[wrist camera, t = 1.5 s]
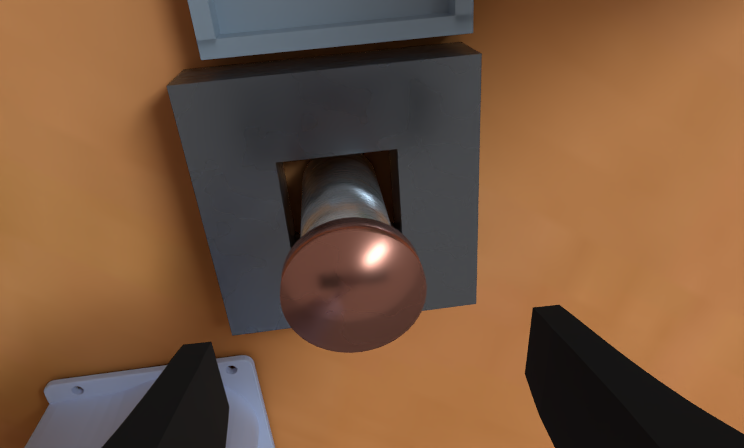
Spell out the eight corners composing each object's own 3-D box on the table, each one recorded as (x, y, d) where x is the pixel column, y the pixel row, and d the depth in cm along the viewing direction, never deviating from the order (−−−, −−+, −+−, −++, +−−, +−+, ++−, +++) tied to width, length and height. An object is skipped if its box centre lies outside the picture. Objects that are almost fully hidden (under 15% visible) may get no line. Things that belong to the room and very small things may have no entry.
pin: (297, 231, 22) (291, 360, 15) (282, 141, 20) (267, 241, 13) (391, 220, 22) (428, 342, 15) (385, 129, 20) (424, 222, 13)
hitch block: (239, 298, 23) (232, 335, 21) (183, 69, 18) (166, 85, 16) (460, 270, 24) (476, 303, 21) (461, 41, 19) (481, 53, 17)
